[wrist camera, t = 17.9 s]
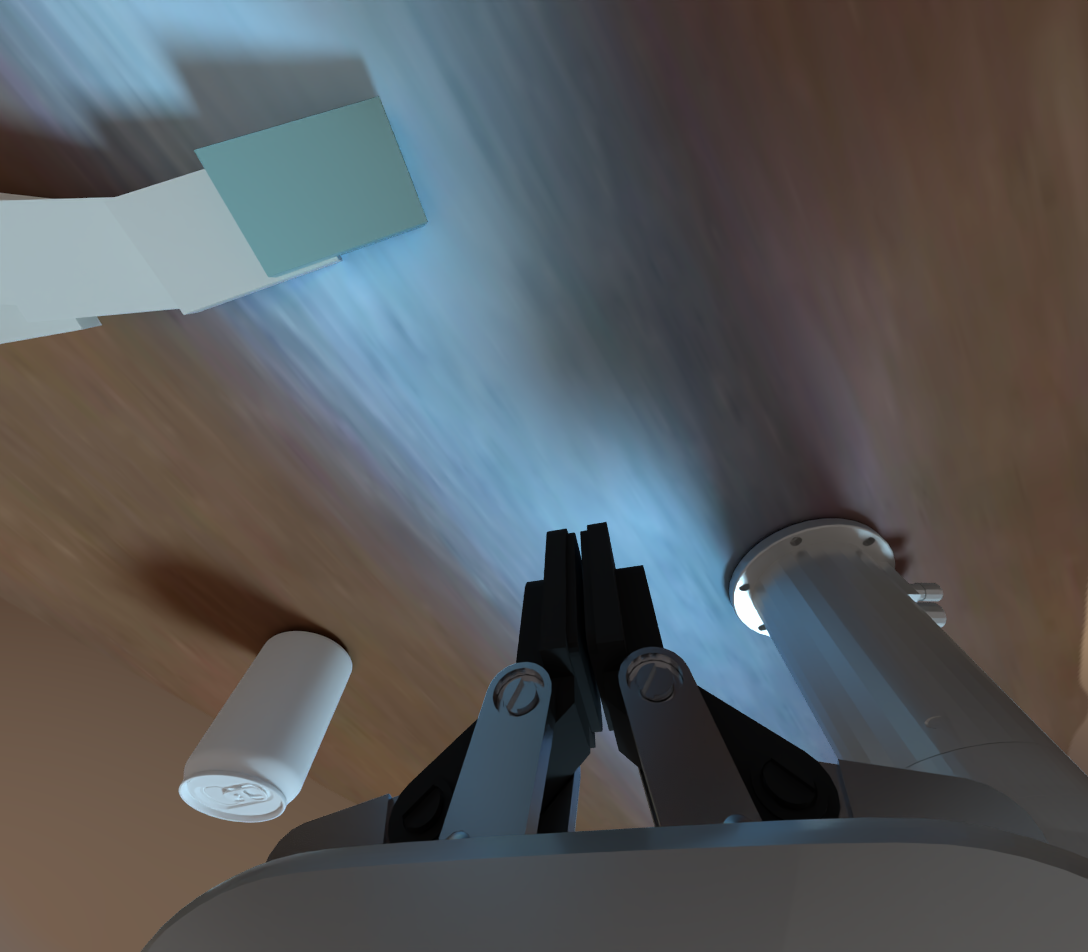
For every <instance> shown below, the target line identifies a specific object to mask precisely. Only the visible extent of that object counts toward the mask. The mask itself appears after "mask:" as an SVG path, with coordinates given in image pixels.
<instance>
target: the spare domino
mask: <svg viewBox="0 0 1088 952" xmlns="http://www.w3.org/2000/svg"><path fill="white" fill-rule="evenodd" d="M194 151H195V153H196V155H197V157H198V158H199V160H200V162H201V163H202V165H203V167H204V169H205V170H206V172H207V174H208V175H209V177H210V179H211V180H212V182H213V184H214V186H215V187H216V189H217V191H218V192H219V194H220V196H221V198H222V199H223V201H224V203H225V204H226V206H227V208H228V209H229V211H230V213H231V215H232V216H233V218H234V220H235V221H236V223H237V225H238V226H239V228H240V230H241V232H242V233H243V235H244V237H245V238H246V240H247V242H248V244H249V245H250V247H251V249H252V250H253V252H254V254H255V255H256V257H257V259H258V261H259V262H260V264H261V266H262V267H263V269H264V271H265V273H266V274H267V276H268V277H274V278H276V277H279V276H282V275H285V274H288V273H291V272H293V271H296V270H299V269H302V268H305V267H308V266H311V265H314V264H316V263H319V262H322V261H325V260H328V259H331V258H334V257H337V256H339V255H342V254H345V253H348V252H351V251H354V250H357V249H360V248H362V247H365V246H368V245H371V244H374V243H377V242H380V241H382V240H385V239H388V238H391V237H394V236H397V235H400V234H403V233H405V232H408V231H411V230H414V229H417V228H420V227H423V226H425V224H426V223H427V222H428V221H427V219H426V216H425V214H424V211H423V208H422V206H421V203H420V201H419V198H418V196H417V193H416V190H415V188H414V185H413V183H412V180H411V178H410V175H409V172H408V170H407V167H406V165H405V162H404V160H403V157H402V154H401V152H400V149H399V147H398V144H397V142H396V139H395V136H394V134H393V131H392V129H391V126H390V124H389V121H388V119H387V116H386V113H385V111H384V108H383V106H382V103H381V101H380V98H379V96H378V97H375V98H371V99H368V100H364V101H361V102H357V103H354V104H351V105H347V106H344V107H340V108H337V109H333V110H330V111H326V112H323V113H320V114H316V115H313V116H309V117H306V118H302V119H299V120H296V121H292V122H289V123H285V124H282V125H278V126H275V127H271V128H268V129H265V130H261V131H258V132H254V133H251V134H247V135H244V136H240V137H237V138H234V139H230V140H227V141H223V142H220V143H216V144H213V145H209V146H206V147H203V148H199V149H196V150H194Z"/></svg>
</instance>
